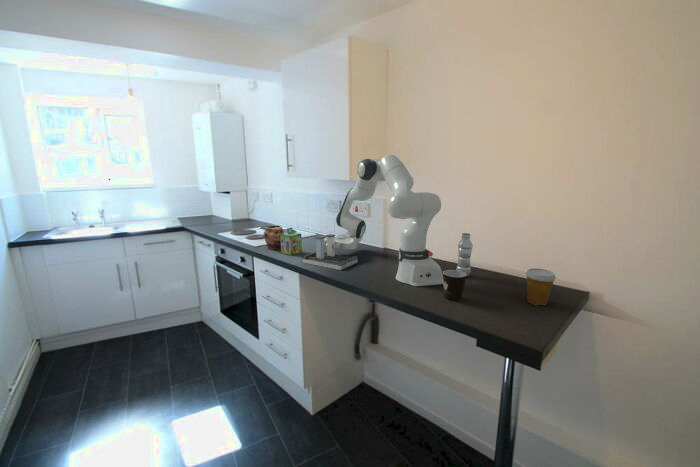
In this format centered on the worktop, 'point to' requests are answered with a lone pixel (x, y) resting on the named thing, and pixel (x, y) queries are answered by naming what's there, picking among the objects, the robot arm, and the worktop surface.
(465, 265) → the plastic bottle
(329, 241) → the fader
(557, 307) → the worktop surface
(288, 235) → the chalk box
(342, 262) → the grey rectangular tray
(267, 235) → the decorative planter
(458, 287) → the coffee mug
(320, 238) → the cylinder
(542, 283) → the disposable coffee cup
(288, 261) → the worktop surface
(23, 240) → the worktop surface
